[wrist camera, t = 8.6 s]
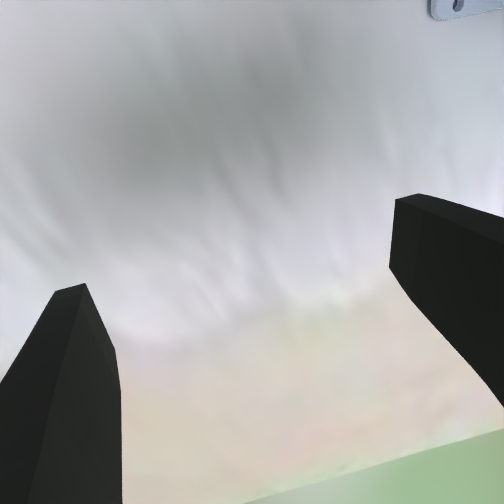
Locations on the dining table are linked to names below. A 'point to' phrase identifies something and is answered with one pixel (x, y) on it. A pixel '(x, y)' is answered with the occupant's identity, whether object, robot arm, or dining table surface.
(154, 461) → the dining table surface
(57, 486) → the robot arm
